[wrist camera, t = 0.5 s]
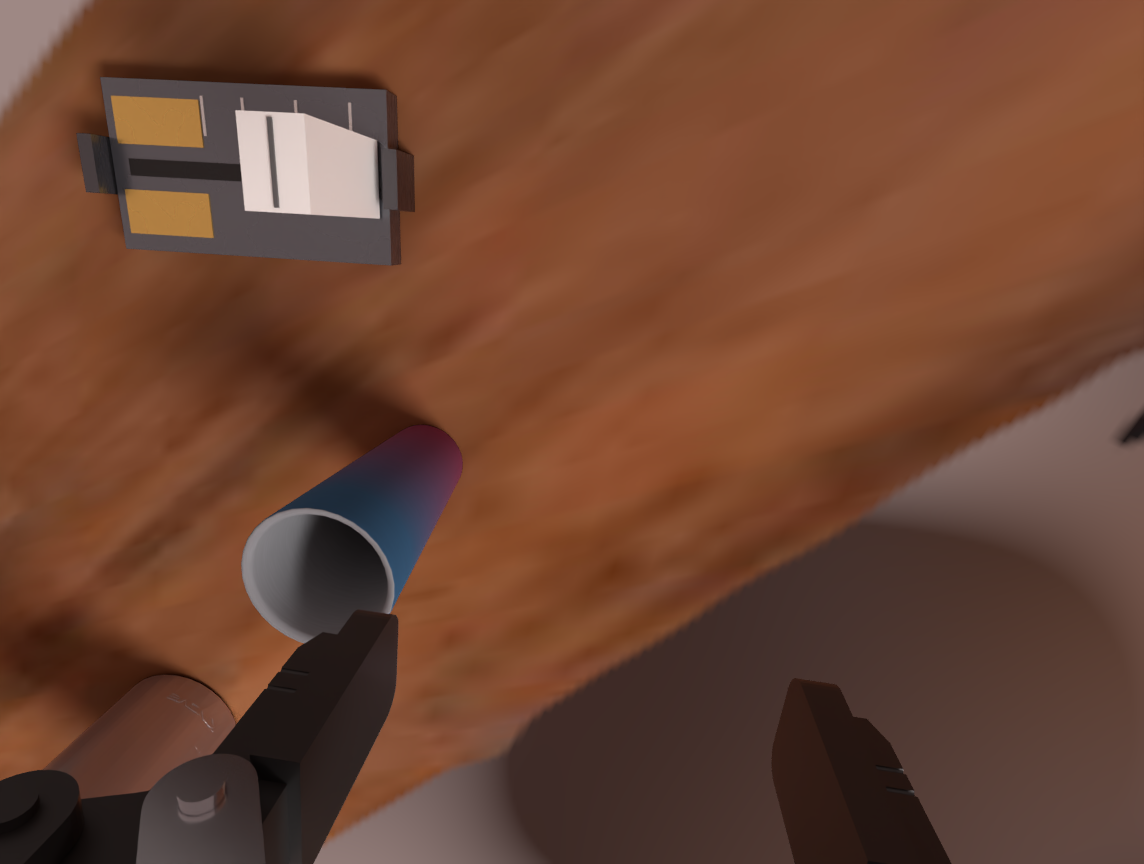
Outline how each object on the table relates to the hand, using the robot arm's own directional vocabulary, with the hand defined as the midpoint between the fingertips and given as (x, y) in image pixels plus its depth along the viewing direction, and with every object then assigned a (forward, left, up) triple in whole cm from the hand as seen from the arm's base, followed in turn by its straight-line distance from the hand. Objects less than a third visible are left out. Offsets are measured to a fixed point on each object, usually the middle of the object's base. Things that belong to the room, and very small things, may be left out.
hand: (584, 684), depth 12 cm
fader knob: (-2, +18, -26) cm, 32 cm away
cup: (-13, +5, -28) cm, 31 cm away
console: (-6, +23, -28) cm, 37 cm away
